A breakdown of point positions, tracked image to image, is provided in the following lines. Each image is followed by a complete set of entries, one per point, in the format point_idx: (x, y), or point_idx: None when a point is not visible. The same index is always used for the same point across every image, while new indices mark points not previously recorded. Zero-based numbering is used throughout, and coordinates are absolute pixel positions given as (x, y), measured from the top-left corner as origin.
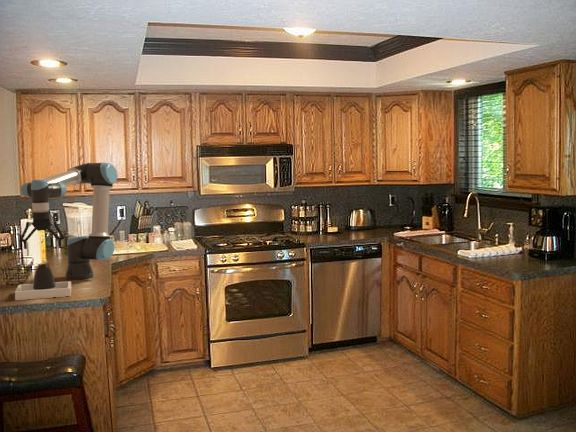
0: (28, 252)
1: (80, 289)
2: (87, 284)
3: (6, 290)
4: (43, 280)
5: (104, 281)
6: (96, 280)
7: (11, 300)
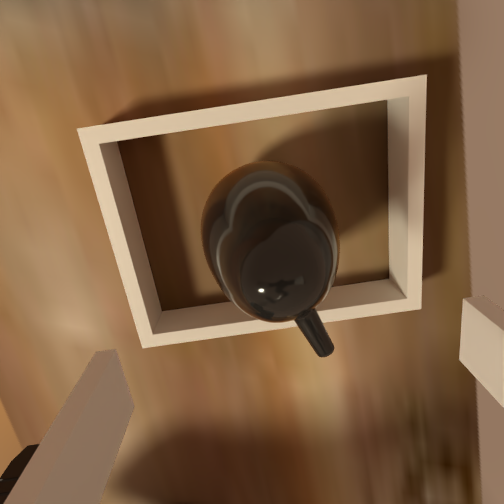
0: (492, 328)
1: (100, 305)
2: None
3: None
4: (260, 176)
5: None
6: None
7: None
